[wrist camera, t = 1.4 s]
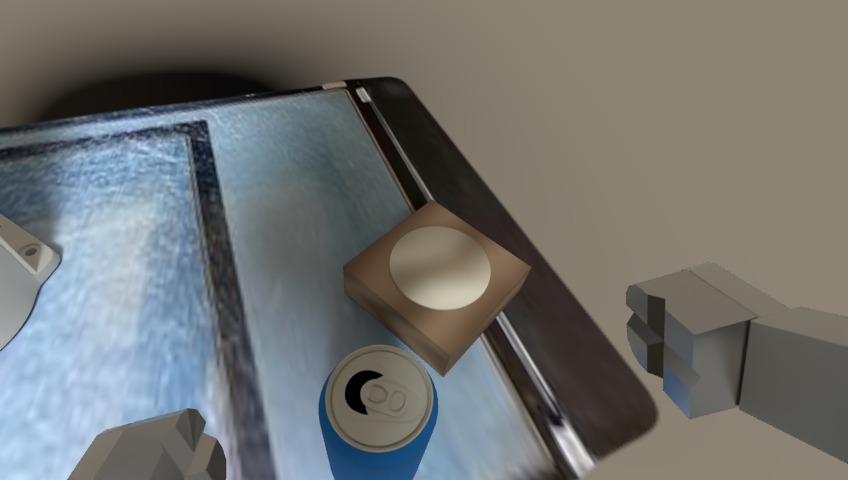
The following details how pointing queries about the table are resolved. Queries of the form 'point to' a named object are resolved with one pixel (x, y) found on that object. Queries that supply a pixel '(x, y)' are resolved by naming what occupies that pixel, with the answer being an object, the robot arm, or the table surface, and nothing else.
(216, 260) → the table surface
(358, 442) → the beverage can
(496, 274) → the base block
